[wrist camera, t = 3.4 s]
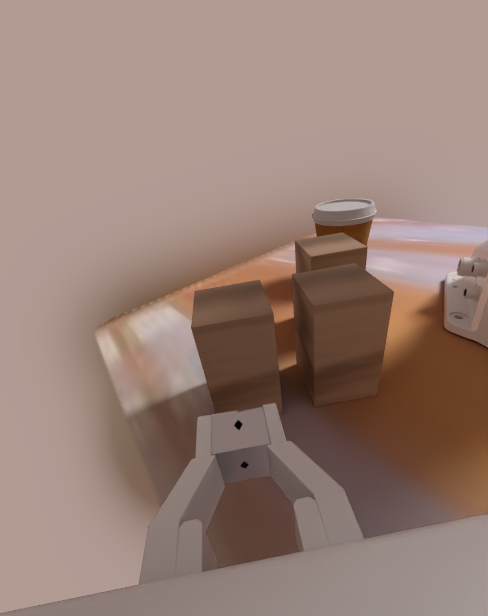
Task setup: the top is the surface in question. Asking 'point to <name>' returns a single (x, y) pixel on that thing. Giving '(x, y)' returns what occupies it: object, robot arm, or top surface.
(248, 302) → the plain walnut block
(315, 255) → the walnut block numbered 2
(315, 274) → the walnut block numbered 1
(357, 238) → the disposable coffee cup
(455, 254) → the top surface
